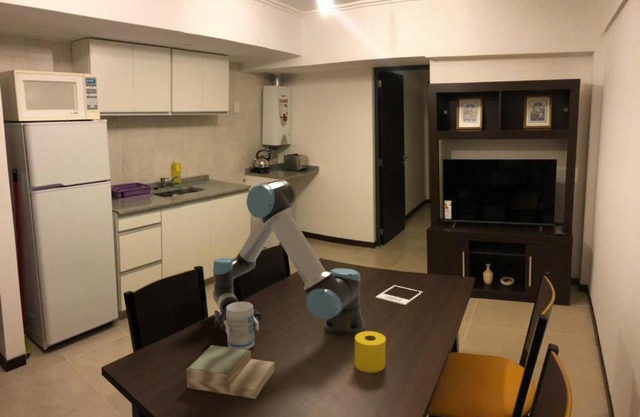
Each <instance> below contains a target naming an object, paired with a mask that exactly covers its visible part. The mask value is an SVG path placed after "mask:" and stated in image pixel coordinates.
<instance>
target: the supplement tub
mask: <svg viewBox="0 0 640 417" xmlns="http://www.w3.org/2000/svg"><path fill="white" fill-rule="evenodd" d="M253 309H254V304H252V303H251V302H249V301H239V302H235V303H231V304H229V305H228V306H227V307H226V321H227V324H228V326H229V328H230V336H228V335H227V334H226V335H227V339H226V340H227V347H229V348H237V349H244V350H250V349H251V348H252V347H254V345H255V327H254V311H253Z"/></svg>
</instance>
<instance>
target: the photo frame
mask: <svg viewBox="0 0 640 417" xmlns="http://www.w3.org/2000/svg"><path fill="white" fill-rule="evenodd" d="M395 287H396V288H401V289H404V290H409V291H413V292H417V291H418V292H417V294H416V295H415V296H413V297H412V298H410V299H407V298H403V297H399V296H394V295H391V294H386V293H387V292H389V291H391V290H392V289H394V288H395ZM421 293H422V294H423V291H422V290H416V289H413V288H408V287H404V286H399V285H395V284H394V285H392V286H391V287H389V288H387V289H386V290H384V291H383V292H381V293H379V294H378V295H376V296H375V299H379V300H382V301H386V302H391V303H394V304H399V305H404V306H407V305H408V304H409V303H411V302H412V301H413V300H415V299H416V298H417V297H419V296H420V295H422V294H421Z"/></svg>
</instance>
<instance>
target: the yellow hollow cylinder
mask: <svg viewBox="0 0 640 417" xmlns="http://www.w3.org/2000/svg"><path fill="white" fill-rule="evenodd" d="M386 341H387V338H386V336H385V335H384V334H382V333H380V332H376V331H373V330H372V331H369V330H366V331H362V332H360V333H358V334H356V335H354V366H355V368H356V369H357V370H358V371H361V372H363V373H364V372H365V373H379V372H381V371H383V370H384V369H385V367H386V345H387V344H386V343H387V342H386Z"/></svg>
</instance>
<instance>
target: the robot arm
mask: <svg viewBox="0 0 640 417" xmlns="http://www.w3.org/2000/svg"><path fill="white" fill-rule="evenodd" d="M296 197H297V194H296V190H295V188H294V186H293V185H292V184H291V182H289V181H287V180H284V179H276V180H275V179H274V180H273V181H269V182H261V183H259V184H257V185H254V186H253V187H252V188H250V190H249V191H248V194H247V197H246V198H247V199H246V206H247V207H246V208H247V209H248V212H249V213H250V214H251V215H252V216H253V217H254V218H258V221H257V222H256V224H255V226H254V227H253V229H252V231H251V232H250V233H249V235H248V237H247V238H246V240H245V242H244V244H243V245H242V247H241V249H240V250H239V251H238V253H237V255H236V257H234V258H229V257H220V258H216V259H214V260H213V263H212V264H213V268H212V272H213V285H214V287H213V288H214V289H213V291H212V295H213V296H212V297H213V300H214V302H215V304H217V306H218V309H219V311H218V310H214V314H213V315H214V329H218V328H219V329H220V330H221V331H225V333H226V335H228V336H230V328H229V326H228V324H227V321H226V307H227V306H228V305H229V304H231V303H235V302H240V301H239V300H238V298H237V297H236V295H235V292H234V279H236V278H238V277H240V276H242V275H244V274H246V273H249V272H251V271H252V270H253V269H255V267H256V266H257V265H256V263H257V261H256V260H257V258H258V257H259V255H260V253H261V252H262V250H263V249H264V248H265V246H266V244H267V243H268V241H269V240H270V238H271V236H272V235H273V233H274V234H275V236H276V238H277V239H278V241H279V243H280V245H281V246H282V248H283V249H284V251H285V253H286V254H287V256H288V258H289V260H290V261H291V263H292V264H293V266H294V268H295V269H296V271H297V273H298V274H299V276H300V277H301V280H302V281H303V282H304V287H303V290H304V292H305V294H306V295H307V296H306V307H307V310H308V311H309V312H310V314H311V315H313V316H314V317H316V318H317V319H320V320H325V321H324V328H325V330H326V331H327V332H328V333H330V334H333V335H336V336H342V337H349V336H350V337H351V336H356V335H357V334H358V333H360V332H364V329H365V321H364V318H363V315H362V311H361V283H362V282H361V281H362V280H361V273H360V272H358V271H357V270H355V269H352V268H344V267H343V268H341V267H340V268H333V269H331V270H330V271H327V270H326V269H325V268H324V266H323V265H322V262H321V261H320V259H319V258H318V256H317V254H316V253H315V252H314V249H313V248H312V246H311V245H310V243H309V242H308V240H307V238H306V237H305V234H304V233H303V232H302V230H301V228H300V227H299V225H298V224H297V222H296V220H295V219H294V217H293V215H292V210H293V206H294V204H295V202H296ZM253 311H254V330H256V331H260V321H262V317H261V316H262V314H261V313H260V312H259V311H257V310H256V309H255V308H253ZM220 318H221V319H220Z"/></svg>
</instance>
